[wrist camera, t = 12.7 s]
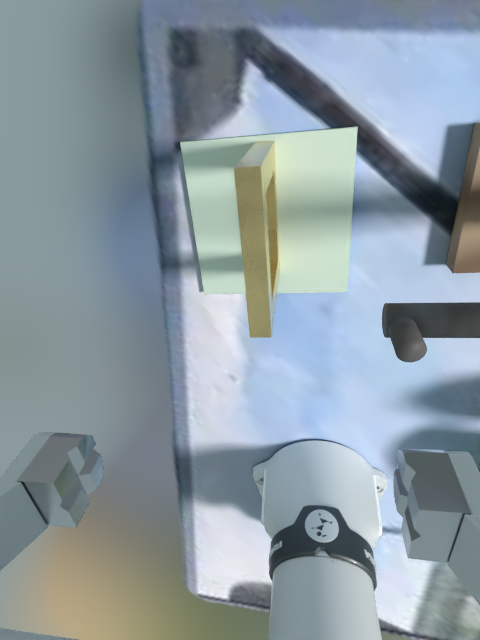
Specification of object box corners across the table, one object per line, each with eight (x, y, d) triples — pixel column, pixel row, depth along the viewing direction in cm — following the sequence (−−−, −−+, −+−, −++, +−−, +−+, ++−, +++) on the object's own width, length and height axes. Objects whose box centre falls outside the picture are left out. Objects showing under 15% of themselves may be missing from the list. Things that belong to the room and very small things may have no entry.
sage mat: (346, 289, 39) (347, 292, 38) (205, 291, 41) (204, 294, 41) (356, 126, 31) (357, 127, 31) (182, 141, 34) (180, 142, 33)
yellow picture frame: (280, 270, 38) (271, 337, 28) (264, 271, 39) (249, 337, 28) (274, 140, 32) (260, 165, 22) (255, 142, 32) (233, 167, 22)
